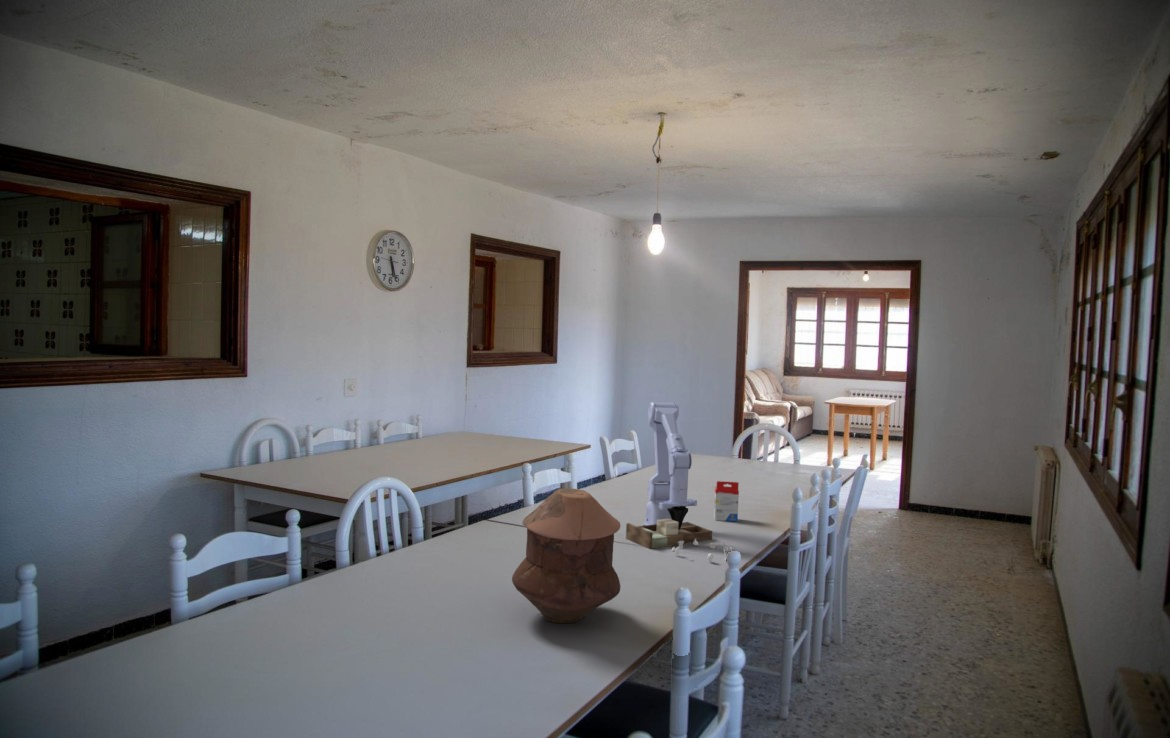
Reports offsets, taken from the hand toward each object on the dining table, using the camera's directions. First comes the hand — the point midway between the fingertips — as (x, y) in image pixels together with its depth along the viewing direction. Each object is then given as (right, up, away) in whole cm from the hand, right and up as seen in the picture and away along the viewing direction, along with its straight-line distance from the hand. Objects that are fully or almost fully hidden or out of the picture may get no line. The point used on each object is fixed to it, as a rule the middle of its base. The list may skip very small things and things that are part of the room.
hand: (676, 529), depth 252 cm
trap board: (-3, -4, +3) cm, 5 cm away
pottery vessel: (-35, -6, -71) cm, 79 cm away
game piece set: (+6, -5, -14) cm, 16 cm away
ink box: (+22, -4, +33) cm, 40 cm away
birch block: (-3, -1, -2) cm, 4 cm away
